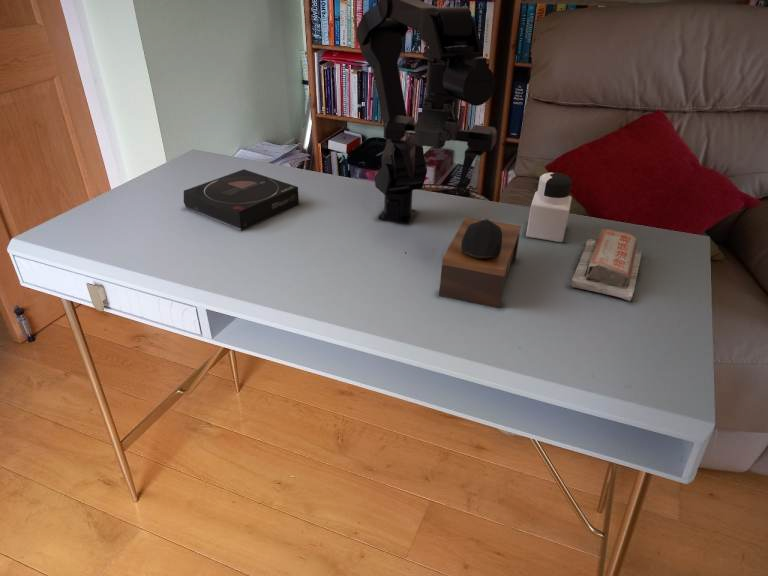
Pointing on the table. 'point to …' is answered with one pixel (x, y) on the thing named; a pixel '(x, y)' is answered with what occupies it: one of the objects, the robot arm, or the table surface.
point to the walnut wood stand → (478, 268)
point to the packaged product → (609, 265)
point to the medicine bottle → (550, 208)
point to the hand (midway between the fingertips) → (436, 180)
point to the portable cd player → (241, 198)
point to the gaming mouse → (482, 239)
